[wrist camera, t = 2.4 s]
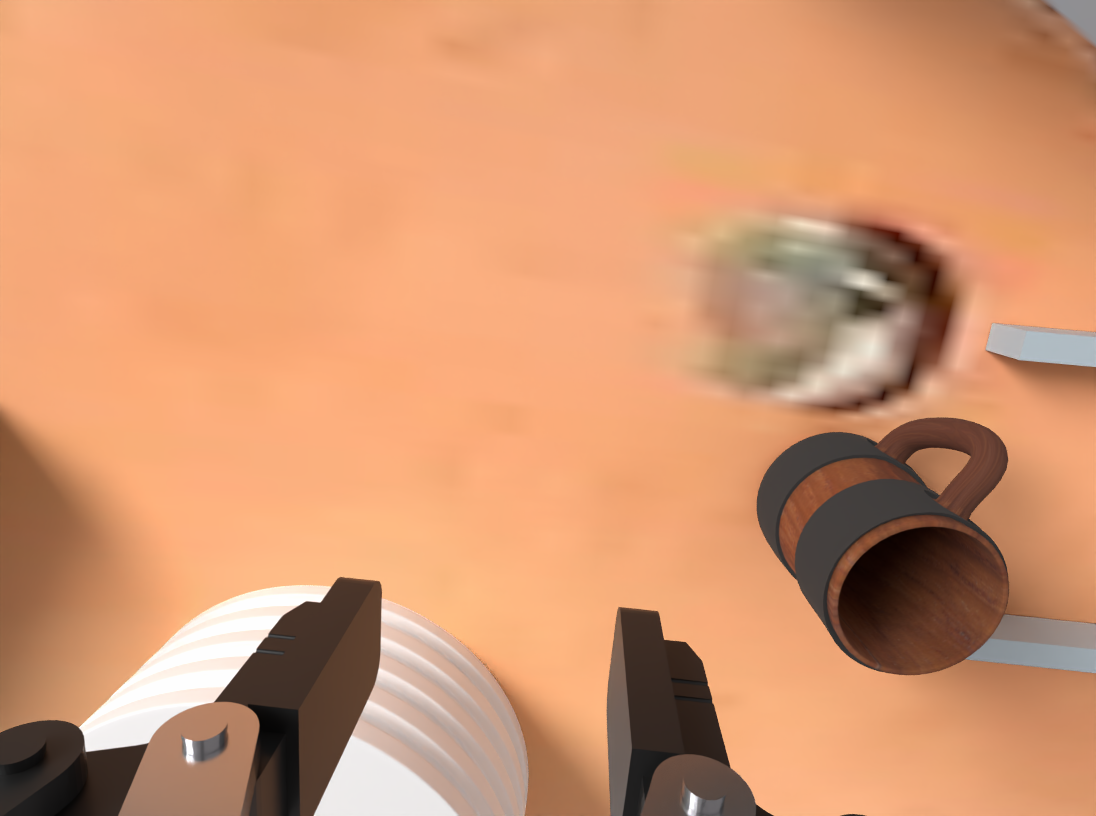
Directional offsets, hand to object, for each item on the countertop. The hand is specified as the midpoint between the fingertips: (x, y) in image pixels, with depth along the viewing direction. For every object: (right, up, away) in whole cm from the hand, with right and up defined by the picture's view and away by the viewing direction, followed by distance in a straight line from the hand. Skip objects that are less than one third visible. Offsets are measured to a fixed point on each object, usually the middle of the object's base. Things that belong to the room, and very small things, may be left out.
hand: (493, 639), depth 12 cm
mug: (+18, 0, +27) cm, 33 cm away
